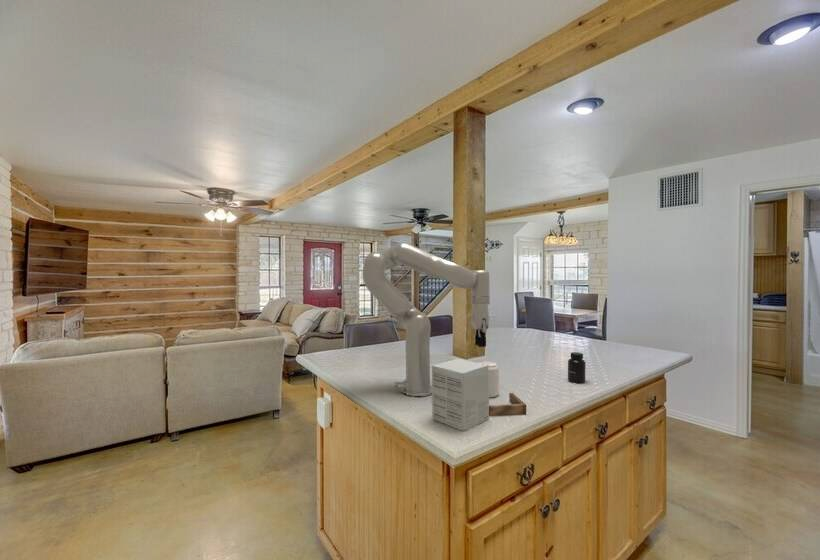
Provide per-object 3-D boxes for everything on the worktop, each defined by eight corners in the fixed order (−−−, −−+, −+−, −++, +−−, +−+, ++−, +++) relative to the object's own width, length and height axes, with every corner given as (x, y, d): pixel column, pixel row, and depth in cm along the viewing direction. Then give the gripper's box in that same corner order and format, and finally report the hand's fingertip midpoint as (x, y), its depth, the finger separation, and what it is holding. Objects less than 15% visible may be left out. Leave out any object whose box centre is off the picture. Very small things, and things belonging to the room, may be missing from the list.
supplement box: (457, 408, 126) (457, 358, 125) (489, 419, 116) (489, 364, 116) (431, 419, 117) (430, 365, 116) (463, 432, 107) (463, 373, 107)
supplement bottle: (568, 382, 152) (567, 354, 152) (567, 378, 158) (567, 351, 158) (586, 384, 149) (586, 355, 149) (585, 379, 156) (584, 352, 156)
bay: (486, 416, 118) (486, 407, 118) (476, 402, 130) (476, 394, 130) (526, 414, 120) (526, 405, 120) (512, 401, 132) (512, 392, 132)
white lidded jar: (499, 398, 134) (498, 366, 134) (476, 397, 136) (476, 365, 136) (498, 391, 142) (498, 361, 142) (477, 390, 144) (476, 360, 144)
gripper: (466, 299, 155) (466, 342, 155) (476, 302, 139) (477, 350, 139) (483, 298, 156) (483, 341, 156) (495, 301, 140) (496, 349, 140)
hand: (480, 345), depth 148 cm, fingers open, 3 cm apart
